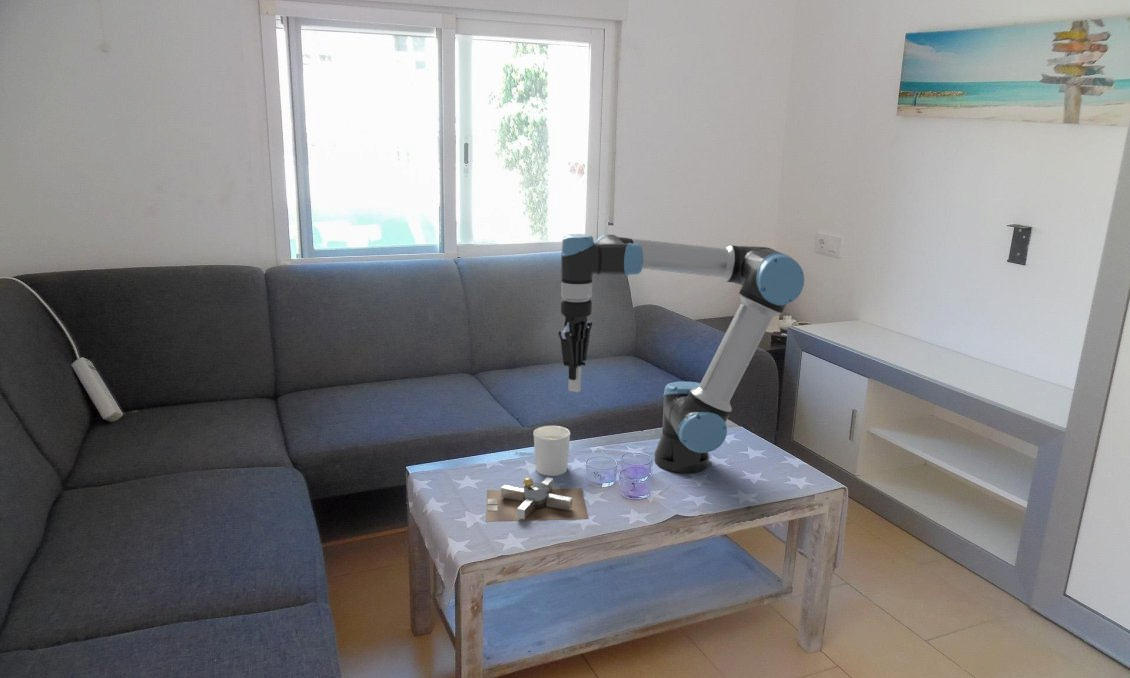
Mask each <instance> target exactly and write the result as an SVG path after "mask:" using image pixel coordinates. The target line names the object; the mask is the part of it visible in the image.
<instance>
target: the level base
mask: <svg viewBox="0 0 1130 678" xmlns="http://www.w3.org/2000/svg"><path fill="white" fill-rule="evenodd" d="M583 492H584V491H583V487H579V488H578V487H574V488H573V487H571V488H570V487H569V488H553V489H552V490H551V491H550V492H549V494H555V495H560V496H565V497H570V498H572V508H571V509H570V511H569V510H564V509H558V508H553V507H548V506H546V507H544V508H540V509H534V510H533V511H532V512H531V513H530V514H529V515H528V516H527V517H526V519H525V520H524V519H519V518H518V507H519V506H520V505H521V504H522V503H523V502H524V501H518V500H513V499H508V498H503V497H501V489H489V490H486V516H485V517H486V518H485V519H486V520H485V521H486V523H487V522H491V523H492V522H523V521H524V522H525V521H527V522H528V521H559V520H560V521H562V520H564V521H565V520H568V521H569V520H589V519H590V518H589V514H588V510H587V509H588V508H587V505H586V501H585V500H586V499H585V496H584V493H583Z"/></svg>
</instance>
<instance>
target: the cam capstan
mask: <svg viewBox="0 0 1130 678" xmlns="http://www.w3.org/2000/svg"><path fill="white" fill-rule="evenodd" d="M554 480H555V479H554V478H552V477H548V476H547V477H545V478H544V480H543V481H542V482H534V481H533V479H532V478H530V477H526V478H524V479H523V482H522V484H523V487H517V486H512V485H508V484H507V485H506V484H503V486H501V487H500V490H501V497H503V498H508V499H513V500H518V501H524V502H523V503H522V504H521V505H520V506H519V507H518V518H519V519H524V520H525V519H526V517H527V516H528V515H529V514H530V513H531V512H532V511H533V510H534V509H540V508H544V507H546V506H548V507H553V508H558V509H564V510H569V511H570V509H571V508H572V498H570V497H565V496H560V495H555V494H549V492H550V491H551V490H552V489H554V483H555V481H554Z"/></svg>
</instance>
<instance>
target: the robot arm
mask: <svg viewBox="0 0 1130 678" xmlns="http://www.w3.org/2000/svg"><path fill="white" fill-rule="evenodd" d="M560 257H561V260H560V261H561V268H560V270H561V271H560V272H561V275H560V276H561V283H560V287H561V291H560V296H561V300H560V315H562V316H564V317H565V320H564V328H563V329H562V330H559V331H558V336H559V337H558V338H559V339H560V347H561V354H562V363H563V366H565V367H568V384H567V385H568V386H567V387H568V391H569V392H574V393H580V392H581V390H582V389H581V388H582V386H581V385H582V366H583V367H585V366H586V362H585V361H586V360H587V357H588V349H589V343H590V336H591V335H590V334H591V329H592V327H593V322H592V321H588V317H589V316H591V315H592V309H593V307H592V306H593V305H592V302H593V301H592V299H591V298H592V297H593V276H594V275H596V276H599V275H603V276H604V275H609V276H610V275H611V276H612V275H613V276H618V275H619V276H630V275H639V274H640V273H642V271H643V270H648V271H649V270H650V271H659V272H668V273H679V274H685V275H687V274H688V275H696V276H697V275H698V276H704V277H706V276H707V277H714V278H721V280H722V281H723V282H725V283H733V284H737V285H740V286H741V288H740V290H739V292H738V297H739V300H740V304H739V306H738V308H737V310H736V312H735V313H734V316H733V317H732V320H731V322H730V324H729V326H728V327H727V329H726V332H725V334H724V335H723V337H722V340H721V342H720V344H719V346H718V348H717V350H716V351H715V353H714V355H713V358H712V359H711V362H710V364H709V366H708V367H707V370H706V372H705V374H704V375H703V378H702V380H701V382H696V381H674V382H669V383H667V384H666V385H665V386H664V393H663V410H662V411H663V412H662V431H661V436H660V438H659V440H658V444H657V446H656V448H655V452H654V462H655V464H656V465H657V466H658V467H660V468H661V469H664V470H666V471H670V472H673V473H674V472H675V473H680V474H681V473H682V474H683V473H684V474H685V473H686V474H689V473H690V474H691V473H698V472H702V471H704V470H706V469H707V468H708V467H709V465H710V453H709V452H712V451H716V449H718V448H720V447H721V446H722V444H724V442H725V441H726V438H727V433H728V428H727V424H726V422H727V421H728V419H729V417H730V415H731V413H732V412H733V411H732V410H733V408H732V406H731V399H732V397H733V395H734V394H735V391H736V390H737V388H738V386H739V384H740V381H741V380H742V378H743V376H744V374H745V372H746V370H747V368H748V367H749V364H750V363H751V360H752V359H753V357H754V355H755V354H756V353H755V352H756V350H757V348H758V347H759V344H761V342H762V339H763V338H764V335H765V333H766V331H767V329H768V327H769V325H770V323H771V321H772V320H773V318H774V317H777V316H780V315H782V314H783V312H784V309H785V308H786V306H787V305H788V304H790V303H792V302H794V301H795V300H797V298H799V296H801V294H802V291H803V289H804V286H805V275H804V274H805V273H804V270H803V269H802V266H801V265H800V263H799V262H797V260H795V259H794V258H793V257H791V256H790V255H788V254H785V253H782V252H781V251H777V250H775V249H774V248H771V247H767V246H749V245H748V246H746V245H745V246H743V245H731V244H729V245H727V246H726V247H725V248H723V247H722V248H721V247H715V246H714V247H713V246H704V245H703V246H702V245H694V244H687V243H686V244H685V243H679V242H678V243H676V242H667V241H659V240H651V239H650V240H648V239H640V238H631V237H629V238H628V237H623V236H622V237H621V236H616V235H615V234H611V233H610V234H608V233H606V234H603V235H601V236H600V237H598V238H597V239H596V240H595V241H594V237H593V236H592V235H590V234H587V233H586V234H582V233H572V234H571V233H570V234H567V235H565V236H564V237H563V238H562V243H561V256H560Z"/></svg>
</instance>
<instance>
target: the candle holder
mask: <svg viewBox="0 0 1130 678" xmlns="http://www.w3.org/2000/svg"><path fill="white" fill-rule="evenodd" d="M532 435H533V443H534V444H533V446H534V447H533V449H534V462H535V463H534V465H535V471H536V473H538V474H539V475H543V476H547V477H548V476H551V477H552V476H553V477H554V476H555V477H556V476H560V475H563V474H565V473H566V472H567V470H568V464H569V463H568V462H569V450H570V438H571V431H570V430H569V429H568V428H566V427H564V426H559V425H544V426H538V427H537V428H535V429H534V430H533V434H532Z"/></svg>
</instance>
